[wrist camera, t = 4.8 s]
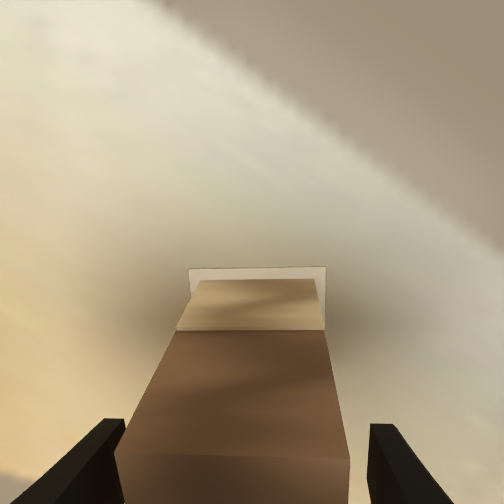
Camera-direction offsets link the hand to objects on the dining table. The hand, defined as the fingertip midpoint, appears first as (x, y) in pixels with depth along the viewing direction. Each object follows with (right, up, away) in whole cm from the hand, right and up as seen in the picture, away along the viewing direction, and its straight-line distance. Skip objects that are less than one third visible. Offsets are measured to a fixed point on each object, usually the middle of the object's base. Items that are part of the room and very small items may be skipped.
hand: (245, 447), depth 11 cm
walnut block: (0, +1, +2) cm, 3 cm away
